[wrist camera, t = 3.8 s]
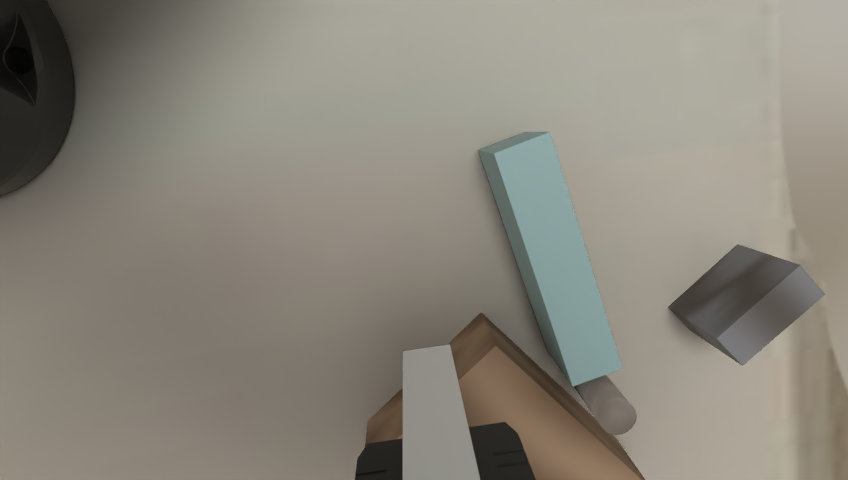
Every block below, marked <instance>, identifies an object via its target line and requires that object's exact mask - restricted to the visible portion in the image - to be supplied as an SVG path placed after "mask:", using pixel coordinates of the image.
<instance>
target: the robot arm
mask: <svg viewBox="0 0 848 480" xmlns="http://www.w3.org/2000/svg"><path fill="white" fill-rule="evenodd" d="M73 99H74V81H73V71H72V65H71V60H70V56H69V52H68V48H67V45H66V42H65V39H64V37H63V34H62V32H61V29H60V27H59V25H58V23H57V21H56V19H55V17H54V15H53V13H52V11H51V9H50V8H49V6H48V5H47V3H46V1H45V0H0V196H1V195H4V194H7V193H9V192H12V191H14V190H16V189H18V188H20V187H22V186H23V185H25V184H26V183H28V182H29V181H31V180H32V179H33V178H34V177H36V176H37V175H38V174H39V173H40V172H41V171H42V170H43V169H44V168H45V167H46V166H47V165H48V164H49V163H50V161H51V160H52V159H53V157H54V156H55V154H56V153H57V151H58V150H59V148H60V146H61V144H62V142H63V140H64V138H65V135H66V133H67V130H68V127H69V123H70V119H71V115H72V109H73ZM355 480H536V479H535V476H534V474H533V471H532V468H531V466H530V463H529V461H528V458H527V455H526V453H525V451H524V448H523V445H522V442H521V440H520V437H519V435H518V433H517V432H516V431H515V430H514V429H513V428H511V427H510V426H509V425H508V424H507V423H506V422H500V423H494V424H487V425H480V426H473V427H468V423H467V418H466V414H465V409H464V405H463V400H462V396H461V392H460V387H459V383H458V378H457V374H456V369H455V365H454V360H453V356H452V351H451V347H450V344H449V345H442V346H435V347H428V348H421V349H415V350H408V351H403V438H402V439H395V440H388V441H381V442H375V443H368V444H367V445H366V447H365V448H364V450H363V451H362V453H361V454H360V456H359V457H358V460H357V468H356V477H355Z"/></svg>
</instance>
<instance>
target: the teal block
mask: <svg viewBox="0 0 848 480" xmlns="http://www.w3.org/2000/svg"><path fill="white" fill-rule="evenodd" d="M478 151H479V154H480V157H481V160H482V163H483V166H484V168H485V171H486V174H487V177H488V180H489V183H490V186H491V189H492V192H493V195H494V197H495V200H496V203H497V206H498V209H499V212H500V215H501V218H502V221H503V224H504V226H505V229H506V232H507V235H508V238H509V241H510V244H511V247H512V250H513V253H514V255H515V258H516V261H517V264H518V267H519V270H520V273H521V276H522V279H523V282H524V284H525V287H526V290H527V293H528V296H529V299H530V302H531V305H532V308H533V311H534V313H535V316H536V319H537V322H538V325H539V328H540V331H541V334H542V337H543V340H544V343H545V345H546V348H547V350H548V351H549V353H550V354H551V355H552V357H553V358H554V360H555V361H556V363H557V364H558V366H559V367H560V369H561V370H562V372H563V373H564V375H565V376H566V378H567V379H568V381H569V382H570V384H571V385H572V387H573V386H576V385H579V384H581V383H584V382H587V381H590V380H592V379H595V378H598V377H601V376H603V375H606V374H609V373H612V372H614V371H617V370H620V369H623V368H622V365H621V362H620V359H619V355H618V352H617V349H616V345H615V342H614V339H613V336H612V332H611V329H610V326H609V323H608V319H607V316H606V313H605V310H604V306H603V303H602V300H601V297H600V293H599V290H598V287H597V283H596V280H595V277H594V274H593V270H592V267H591V264H590V261H589V257H588V254H587V251H586V248H585V244H584V241H583V238H582V234H581V231H580V228H579V225H578V221H577V218H576V215H575V212H574V208H573V205H572V202H571V199H570V195H569V192H568V189H567V186H566V182H565V179H564V176H563V172H562V169H561V166H560V163H559V159H558V156H557V153H556V150H555V146H554V143H553V140H552V137H551V133H550V132H524V133H522V134H519V135H516V136H514V137H511V138H509V139H506V140H503V141H501V142H498V143H496V144H493V145H490V146H488V147H485V148H483V149H480V150H478Z"/></svg>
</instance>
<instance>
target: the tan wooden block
mask: <svg viewBox="0 0 848 480" xmlns="http://www.w3.org/2000/svg"><path fill="white" fill-rule="evenodd" d="M824 295H825V293H824V292H823V291H822V290H821V289H820V288H819V286H818V285H817V284H816V283H815V282H814V281H813V279H812V278H811V277H810V276H809V275H808V273H807V272H806V271H805V270H804V269H803V268H802V266H801V265H798V264H795V263H792V262H789V261H786V260H783V259H780V258H777V257H774V256H771V255H768V254H765V253H762V252H759V251H756V250H753V249H750V248H747V247H744V246H741V245H737V246H736V247H735V248H733V249H732V250H731V251H730V252H729V253H728V254H727V255H726V256H725V257H723V258H722V259H721V260H720V261H719V262H718V263H717V264H716V265H715V266H713V267H712V268H711V269H710V270H709V271H708V272H707V273H706V274H705V275H703V276H702V277H701V278H700V279H699V280H698V281H697V282H696V283H695V284H693V285H692V286H691V287H690V288H689V289H688V290H687V291H686V292H685V293H684V294H682V295H681V296H680V297H679V298H678V299H677V300H676V301H675V302H674V303H672V304H671V305H670V306H669V308H670V309H671V310H672V311H673V312H674V313H675V315H676V316H677V317H678V318H679V319H680V320H681V321H682V322H683V323H684V324H685V325H686V326H687V327H688V328H689V329H690V330H691V331H692V332H694V333H695V334H697V335H698V336H699V337H701V338H702V339H704V340H705V341H707V342H708V343H710V344H711V345H713V346H714V347H716V348H717V349H719V350H720V351H722V352H723V353H724V354H726V355H727V356H729V357H730V358H732V359H733V360H735V361H736V362H738V363H739V364H741V365H742V366H743V365H744V364H745V363H746V362H747V361H749V360H750V359H751V358H752V357H753V356H754V355H755V354H757V353H758V352H759V351H760V350H761V349H762V348H764V347H765V346H766V345H767V344H768V343H769V342H771V341H772V340H773V339H774V338H775V337H776V336H778V335H779V334H780V333H781V332H782V331H783V330H785V329H786V328H787V327H788V326H789V325H790V324H792V323H793V322H794V321H795V320H796V319H797V318H799V317H800V316H801V315H802V314H803V313H804V312H806V311H807V310H808V309H809V308H810V307H811V306H813V305H814V304H815V303H816V302H817V301H818V300H820V299H821V298H822V297H823V296H824ZM449 344H450V347H451V351H452V356H453V360H454V365H455V369H456V374H457V378H458V383H459V387H460V392H461V396H462V400H463V405H464V409H465V414H466V418H467V423H468V427H473V426H480V425H487V424H494V423H500V422H506V423H507V424H508V425H509V426H510V427H511V428H513V429H514V430H515V431H516V432H517V433H518V435H519V437H520V440H521V442H522V445H523V448H524V451H525V453H526V455H527V458H528V461H529V463H530V466H531V468H532V471H533V474H534V476H535V479H536V480H645V479H644V477H643V476H642V474H641V473H640V472H639V470H638V469H637V467H636V466H635V464H634V463H633V462H632V460H631V459H630V457H629V456H628V455H627V453H626V452H625V450H624V449H623V447H622V446H621V445H620V443H619V442H618V440H617V439H616V438H615V437H614V436H613V435H619V434H623V433H625V432H627V431H629V430H630V429H631V428H632V427H633V426H634V424H635V422H636V411H635V409H634V408H633V406H632V405H631V404H630V403H629V402H628V401H627V399H626V398H625V397H624V396H623V395H622V393H621V392H620V391H619V390H618V389H617V388H616V386H615V385H614V384H613V383H612V382H611V380H610V379H609V378H608V377H607V376H606V375H603V376H601V377H598V378H595V379H592V380H590V381H587V382H584V383H581V384H579V385H576V386H574V387H575V389H576V390H577V391H578V393H579V394H580V396H581V397H582V399H583V400H584V402H585V403H586V405H587V406H588V408H589V409H590V411H591V412H592V413H593V415H594V416H595V418H596V419H597V420H596V419H595V418H594V417H593V416H592V415H591V414H589V413H588V412H587V411H586V410H585V409H584V408H583V407H582V406H581V405H580V404H579V403H578V402H577V401H576V400H574V399H573V398H572V397H571V396H570V395H569V394H568V393H567V392H566V391H565V390H564V389H563V388H562V387H561V386H559V385H558V384H557V383H556V382H555V381H554V380H553V379H552V378H551V377H550V376H549V375H548V374H547V373H545V372H544V371H543V370H542V369H541V368H540V367H539V366H538V365H537V364H536V363H535V362H534V361H533V360H532V359H530V358H529V357H528V356H527V355H526V354H525V353H524V352H523V351H522V350H521V349H520V348H519V347H518V346H517V345H515V344H514V343H513V342H512V341H511V340H510V339H509V338H508V337H507V336H506V335H505V334H504V333H503V332H501V331H500V330H499V329H498V328H497V327H496V326H495V325H494V324H493V323H492V322H491V321H490V320H489V319H488V318H486V317H485V316H484V315H483V314H482V313H480V314H479V315H478V316H477V317H476V318H475V319H474V320H473V321H472V322H471V323H470V324H469V325H468V326H467V327H466V328H465V329H464V330H462V331H461V332H460V333H459V334H458V335H457V336H456V337H455V338H454V339H453V340H452V341H451V342H450V343H449ZM449 344H448V345H449ZM612 434H613V435H612ZM402 438H403V388H402V389H401V390H400V391H399V392H398V393H397V394H396V395H395V396H394V397H393V398H392V399H391V400H390V401H389V402H388V403H387V404H386V405H385V406H384V407H383V408H381V409H380V410H379V411H378V412H377V413H376V414H375V415H374V416H373V417H372V418H371V419H370V420H369V421H368V426H367V435H366V443H365V447H366V445H367V444H368V443H375V442H381V441H388V440H395V439H402Z"/></svg>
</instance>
